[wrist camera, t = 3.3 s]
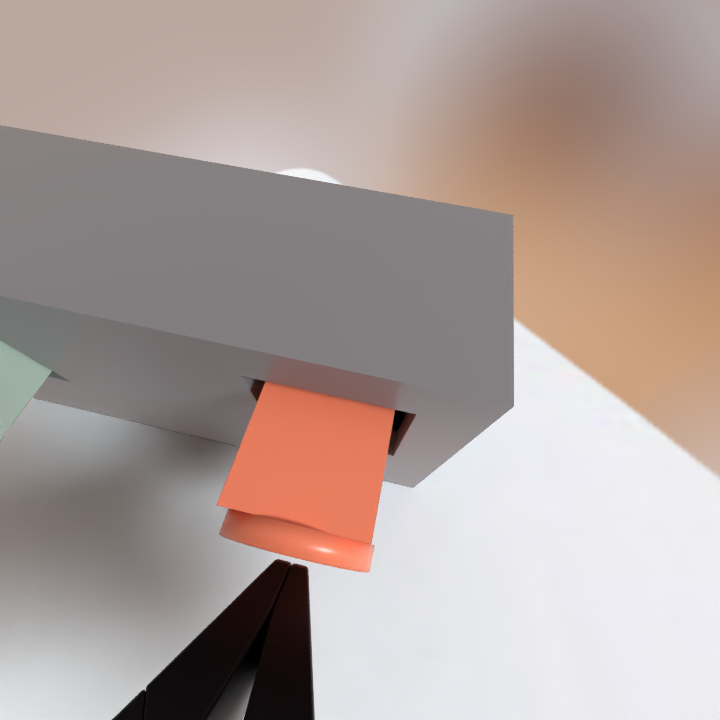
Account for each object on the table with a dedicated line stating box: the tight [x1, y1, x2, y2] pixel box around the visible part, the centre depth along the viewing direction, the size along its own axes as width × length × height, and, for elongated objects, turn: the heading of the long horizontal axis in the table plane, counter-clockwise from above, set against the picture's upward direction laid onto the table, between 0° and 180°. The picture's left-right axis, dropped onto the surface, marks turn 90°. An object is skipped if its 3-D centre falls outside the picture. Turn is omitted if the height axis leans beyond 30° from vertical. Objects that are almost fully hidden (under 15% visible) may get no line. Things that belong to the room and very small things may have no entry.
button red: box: [217, 381, 395, 572], centre depth 10 cm, size 5×4×4 cm
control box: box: [0, 125, 514, 488], centre depth 14 cm, size 6×21×12 cm, turn 78°
